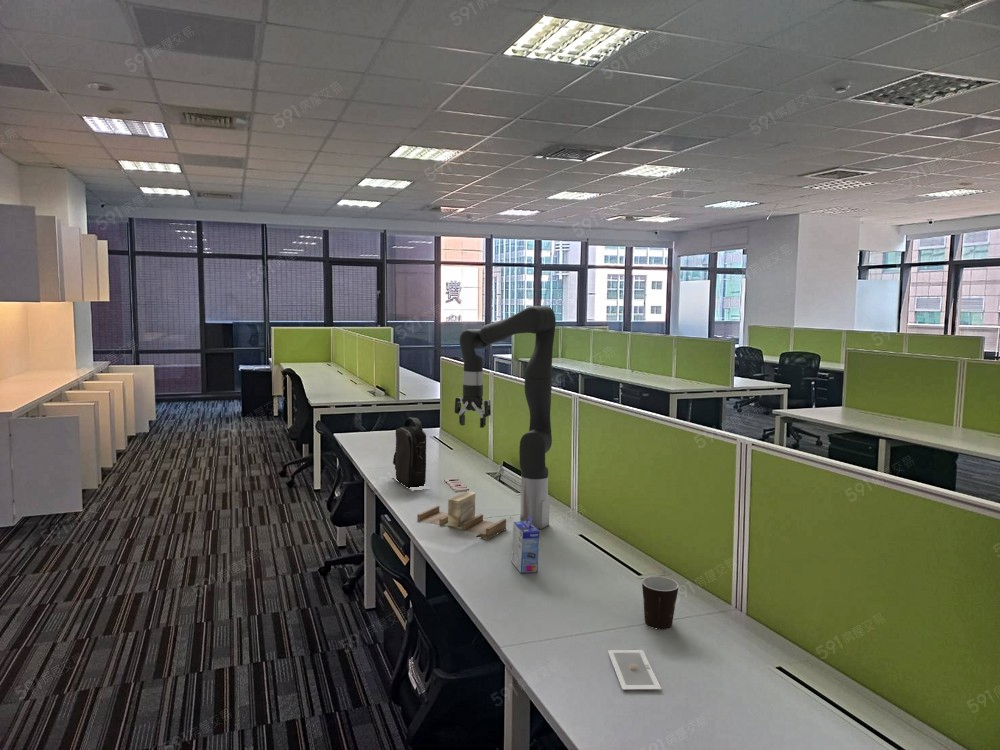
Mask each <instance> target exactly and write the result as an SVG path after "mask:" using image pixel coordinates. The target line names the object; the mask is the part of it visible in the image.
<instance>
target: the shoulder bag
mask: <svg viewBox="0 0 1000 750" xmlns="http://www.w3.org/2000/svg"><path fill="white" fill-rule="evenodd" d="M412 422H413V424H414V426H411V424H412ZM392 464H393V465H394V470H395V477H396V479H397V480H398V481H399V482H400V483H402V484H403V485H405V486H406V487H408V488H410V487H419V486H424V484H426V473H427V434H426V432H425V431H424V430H423V425H422V422H421V421H420V419H419V418H418V417H411V416H410V417H407V418H406V419H405V420H404V423H403V426H402V427H399V428H396V429H395V452H394V454H393V460H392ZM400 483H399V484H400ZM403 485H402V486H403ZM406 487H405V488H406Z"/></svg>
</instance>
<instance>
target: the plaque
mask: <svg viewBox="0 0 1000 750" xmlns="http://www.w3.org/2000/svg"><path fill="white" fill-rule="evenodd" d="M449 480H456V481H449ZM443 481H444V483H446V482H447V483H446V485H448V486H449V487H450V489H451V490H453V491H455V493H458V491H459V492H463V491H467V492H471V493H475V492H474V491H473V490H470V488H469V487H468V486H467V485H466V484H465V483H464V482H462V480H460V478H459V477H457V478H444V480H443ZM457 485H458V486H457ZM459 485H460V486H459Z"/></svg>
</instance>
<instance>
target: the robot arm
mask: <svg viewBox="0 0 1000 750" xmlns="http://www.w3.org/2000/svg"><path fill="white" fill-rule="evenodd" d="M556 322H557V319H556V314H555V311H554V310H553V308H551V307H550V306H547V305H530V306H527V307H526V308H523V309H522V310H520V311H519V312H517V313H515V314H513V315H512V316H509V317H507V318H504V319H501V320H498V321H495V322H491V323H488V324H486V325H483V326H482V327H481V328H476V329H474V328H472V329H471V328H470V329H469V328H467V329H464V330H463V331H461V332H460V333H461V334H460V335H459V346H460V350H461V354H462V358H463V374H462V397H461V396H459V397H455V398H454V399H455V400H454V413H455V414H457V415H458V416H459V418H458V423H459V425H460V426H465V425H466V415H465V414H466V413H467V411H473V412H476V413H477V414H478V415H479V417H480V418H479V427H480V428H479V429H484V428H485V426H486V425H487V418H488V417H490V416H491V415H492V410H491V406H492V405H491V399H487V400H486V399H483V395H484V373H483V372H484V371H483V370H484V369H483V368H484V367H483V365H484V360H483V357H482V356H481V355H480V354H477V353H476V351H475V349H482V348H486V347H488V346H490V345H491V344H494V343H499V342H502V341H505V340H507V339H508V338H509V337H511V336H514V335H517V334H518V335H519V334H535V341H534V343H535V344H534V349H533V352H532V355H531V357H530V358H529V360H528V363H527V366H526V367H525V371H524V394H525V400H526V402H527V405H528V410H529V428H528V431H527V432H525V433H524V434H523V435H522V437H520V441H519V455H518V456H519V469H520V471H521V476H520V477H521V480H520V516H519V520H520V521H519V522H521V521H526V520H527V519H528V517H529V516H530V517H531V518H532V519H533V522H532V525H533V526H534V527H535V528H537V529H538V530H539V529H540V530H543V529H544V528H545V527H547V526H548V525H550V507H551V506H550V504H551V501H550V500H551V498H550V497H548V496H549V494H548V493H549V469H548V467H547V466H546V454H547V453H548V452H549V451H550V450H551V448H552V444H553V437H552V436H553V435H552V426H551V425H552V424H551V409H552V408H551V407H552V404H551V403H552V383H553V372H552V370H553V369H552V368H553V350H554V348H553V347H554V340H555V331H556ZM462 404H463V406H462ZM528 521H529V522H530V520H528Z"/></svg>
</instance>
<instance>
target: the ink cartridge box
mask: <svg viewBox="0 0 1000 750" xmlns="http://www.w3.org/2000/svg"><path fill="white" fill-rule="evenodd" d="M528 520H530V522H529V521H528ZM532 522H533V519H532V518H531V517H530V516H529V517H528V519H527V520H526V521H521V522H520V521H513V523H512V526H513V527H512V542H511V557H510V558H511V562H512V563H513V565H514V566H515V568H516V569H517V570H518V571H519V573H520V574H524V573H525V574H528V573H529V574H531V573H538V570H539V569H538V568H539V566H538V565H539V551H540V550H539V549H540V548H539V546H540V545H539V544H540V530H539V529H537V528H535V527H534V526H533V525H532Z"/></svg>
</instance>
